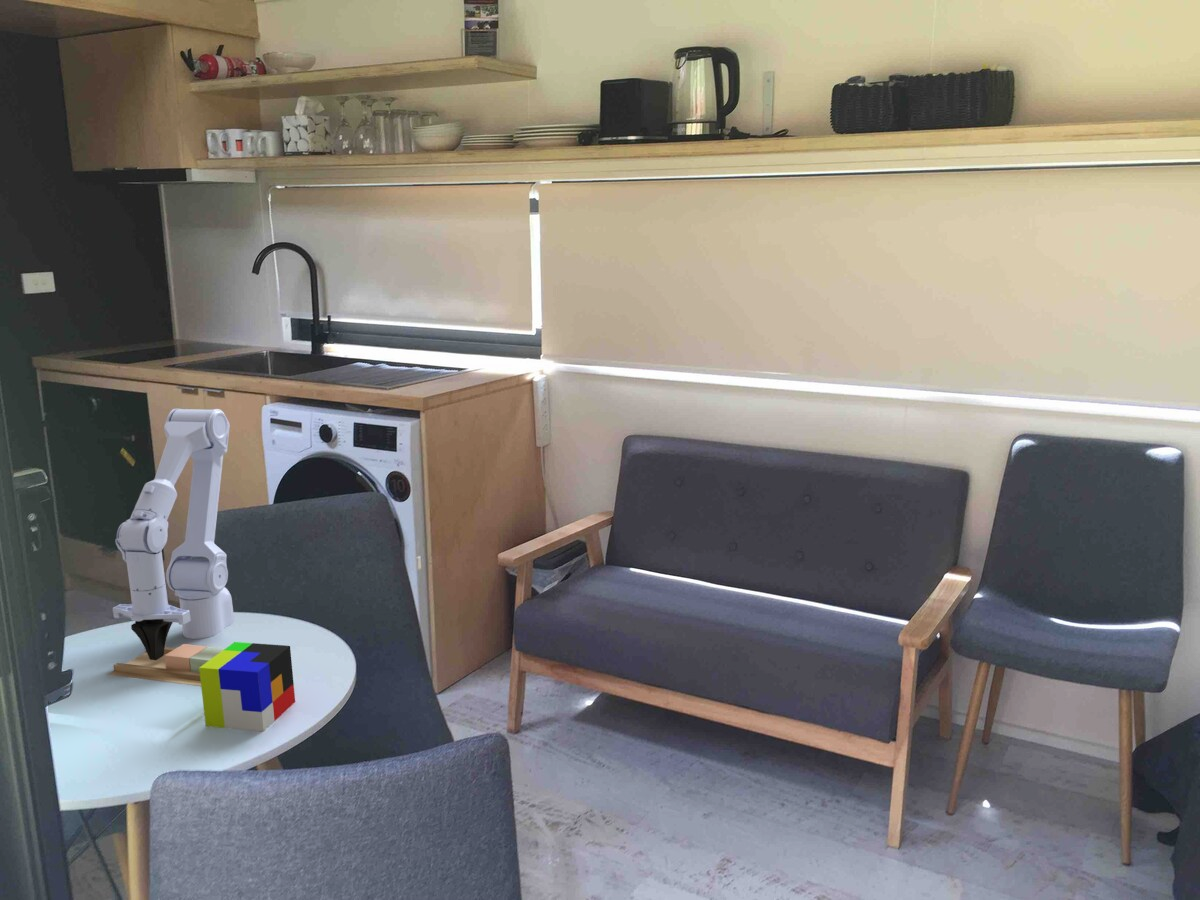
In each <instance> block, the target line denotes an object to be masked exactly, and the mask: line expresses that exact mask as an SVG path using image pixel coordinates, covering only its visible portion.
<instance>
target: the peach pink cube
mask: <svg viewBox="0 0 1200 900" xmlns="http://www.w3.org/2000/svg"><path fill="white" fill-rule="evenodd" d="M207 647H208V646H204V645H196V644H189V643H188V644H186V643H183V644H181V645H180V646H178V647H175V648H176V649H174V650H173V651H171V652H169V653H167V654H166V655H164V656H165V664H166V669H172V670H180V671H189V672H191V665H190V658H191V657H192V656H194V655H196V654H197V653H199V652H200V651H202V650H204V649H205V648H207Z"/></svg>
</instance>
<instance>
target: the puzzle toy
mask: <svg viewBox="0 0 1200 900" xmlns="http://www.w3.org/2000/svg"><path fill="white" fill-rule="evenodd" d="M291 651H292V650H291V645H283V644H281V645H280V644H267V643H255V642H253V643H252V642H241V641H233V642H232V643H231V644H230V645H228V646H227V647H226V648H225V649H224V650H223V651H221V652H220V653H219V654H217V655H216V656H215V657H213V658H212V659H210V660H209V661H208V662H206V663H205V664H204V665H202V666H201V667H199V671H200V680H201V686H200V687H201V688H200V689H201V695H202V697H201V698H202V705H203V712H204V722H205V723H204V724H205V727H211V728H212V727H213V728H221V729H232V730H233V729H235V730H246V731H255V732H256V731H257V732H265V731H266V730H267V729H268V728H269V727H270V726H271V725H272V724H273V723H275V722H276V720H277V719H279V718H280V717H281V716H282V715H283V714H284V713H285V712H286V711H287V710H288V709H289V708H290V707H292V706H293V705H294V704H295V703H296V695H295V686H294V685H295V684H294V683H295V682H294V675H293V674H294V673H293V665H292V664H293V663H292V652H291Z"/></svg>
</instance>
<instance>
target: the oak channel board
mask: <svg viewBox="0 0 1200 900" xmlns="http://www.w3.org/2000/svg"><path fill="white" fill-rule="evenodd" d="M206 647H207V648H205V649H204V650H202V651H200V652H199V653H197V654H196V655H194V656H192V657H191V658H190V665H191V672H189V671H180V670H172V669H166V664H165V656H163V657H161V658H159V659H158V660H150V658H149V656H148V654H147V651H146V650H145V652H143V653H142V654H139V655H138V656H137V657H135V658H133V659H131V660H129V661H128V662H126V663H124V662H123V663H122V662H117V663H115V664H113V670H112V671H111V672H109V673H108V675H111V676H116V677H117V676H118V677H126V678H135V679H140V680H141V679H143V680H149V681H158V682H166V683H172V684H173V683H174V684H181V685H188V686H189V685H190V686H196V687H197V686H198V687H201V680H200V671H199V667H201V666H202V665H204V664H205V663H206V662H208V661H209V660H210V659H212V658H213V657H215V656H216V655H217V654H219V653H220V652H221V651H223V650H224V649H226V648H225V647H216V646H206ZM176 648H177V647H173V646H172V647H171V646H165V648H164V655H166V654H167V653H169V652H171V651H173V650H174V649H176Z"/></svg>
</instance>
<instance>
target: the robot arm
mask: <svg viewBox="0 0 1200 900" xmlns="http://www.w3.org/2000/svg"><path fill="white" fill-rule="evenodd" d="M165 419H166V420H165V424H164V425H163V429H164V435H165V438H166V442H165V446H164V449H163V451H162V455H161V457H160V461H159V463H158V464H159V465H158V467H157V469H156V474H155V477H154V479H152V480H150V481H148V482H145V483H144V484H143V485H144V486H143V488H142V490H141V492H140V493H139V497H138V499H137V501H136V503H135V505H134V509H133V510H132V512H131V515H130V518H129V519H126V520H125V521H124V522H122V523H120V525H119V526H118V528H117V532H116V538H115V545H116V547H117V549H118V550H119V551H120V552H121V557H122V560H123V561H124V562H125V563H126V567H127V569H126V570H127V575H128V584H129V591H130V599H131V600H130V601H131V603H130V604H129V603H128V604H126V603H124V604H123V603H118V605H116V606H114V607H112V614H113V618H114V619H120V618H128V619H131V621H132V622H133V621H134V623H132V624H131V625H130V627H131V629H130V630H132V631H133V633H134V634H135V635H136V636H137V637H138V638H139V640H140V642H141V643H142V645H143V647H144V649H145V652H146V651H147V654H148V656H149V658H150V660H158V659H159V658H161V657H163V656H164V648H165V647H166V641H167V638H168V634H169V631H170V629H171V626H172V624H173V623H178V625H181V626H182V633H183V636H184V637H185V638H186V639H193V640H197V639H198V640H199V639H206V638H210V637H214V636H217V635H218V634H221V632H223V631H224V630H225V629H226V628H227V627H229V626H231V625H232V624H233V623H235V618H234V617H235V616H234V607H233V599H232V595H231V593H230V591H229V590H228V588H227V587H226V584H227V583H228V579H229V570H228V566H227V556H228V555H227V553H226V552H225V551H224V550H222V549H221V547H219V546H217V544H215V538H216V528H217V517H218V509H219V499H220V491H221V489H220V488H221V481H222V471H223V462H224V455H226V454H227V453H228V447H229V438H230V437H229V436H230V429H231V427H230V425H231V424H230V421H229V420H228V418H227V416H226V414H225V413H224V411H223V410H221V409H219V408H214V409H196V408H195V409H190V408H189V409H187V408H185V409H184V408H183V409H182V408H179V407H178V408H173V409H171V410H170V411H169V413H167V417H166V418H165ZM190 458H191V459H192V461H193V463H192V474H191V482H190V488H189V490H190V493H189V500H188V501H189V502H188V507H187V508H188V512H187V520H186V529H185V537H184V541H183V543H181V544H180V545H179V546H177V547H176V548H175V549H174V550H172V552H171V558H170V561H169V564H168V567H167V568H166V573H165V569H164V561H163V552H162V550H163V549H164V547H165V546H166V544H167V542H168V537H169V536H168V535H169V534H168V529H169V523H170V522H169V521H168V519H169V516H170V514H171V512H172V509H173V507H174V505H175V503H176V502H175V501H176V500H177V498H178V492H177V490H176V488H175V484H176V483H177V482H178V479H179V477H180V476H181V474H182V472H183V470H184V468H185V466H186V464H187V462H188V460H189V459H190ZM194 558H196V559H194ZM197 558H206V559H197ZM166 584H167V586H168V588H169V589H170V590H171V591H174V596H175V597H178V598H179V599H178V600H179V607H180V608H179V607H176V606H173V605H171V604H169V602H168V601H169V600H168V593H167V586H166Z"/></svg>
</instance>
